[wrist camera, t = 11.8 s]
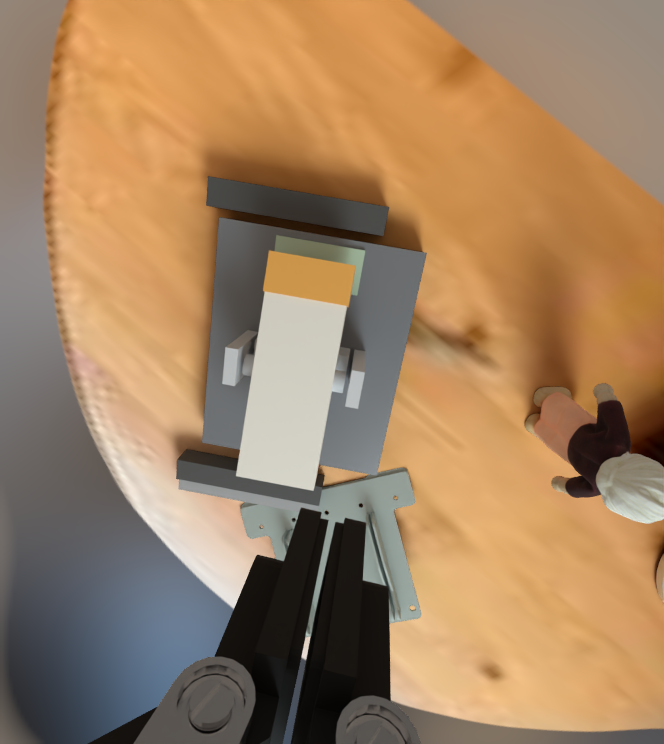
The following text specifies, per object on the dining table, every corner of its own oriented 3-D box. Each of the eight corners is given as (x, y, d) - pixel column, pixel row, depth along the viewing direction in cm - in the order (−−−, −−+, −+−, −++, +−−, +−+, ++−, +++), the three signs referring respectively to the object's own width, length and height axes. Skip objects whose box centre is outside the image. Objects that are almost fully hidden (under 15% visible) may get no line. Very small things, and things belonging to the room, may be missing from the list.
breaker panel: (423, 252, 30) (438, 256, 23) (376, 462, 35) (377, 515, 29) (228, 218, 30) (189, 213, 24) (211, 431, 36) (174, 476, 29)
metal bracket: (451, 637, 33) (272, 665, 36) (443, 596, 39) (290, 623, 41) (403, 459, 33) (228, 500, 36) (402, 445, 39) (252, 480, 42)
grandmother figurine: (567, 452, 34) (678, 573, 21) (517, 450, 34) (599, 568, 22) (585, 358, 31) (721, 434, 19) (531, 357, 31) (631, 431, 19)
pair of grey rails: (387, 208, 29) (388, 207, 28) (330, 509, 37) (328, 522, 35) (203, 177, 30) (193, 173, 28) (184, 481, 37) (175, 493, 36)
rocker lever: (364, 271, 27) (365, 267, 25) (326, 480, 29) (324, 493, 27) (266, 254, 27) (259, 248, 25) (234, 463, 29) (224, 474, 27)
